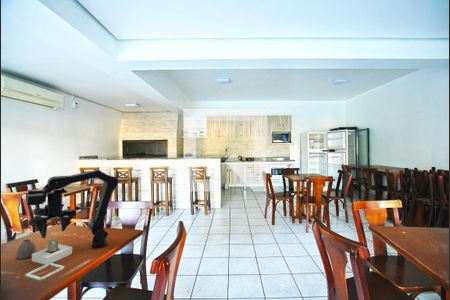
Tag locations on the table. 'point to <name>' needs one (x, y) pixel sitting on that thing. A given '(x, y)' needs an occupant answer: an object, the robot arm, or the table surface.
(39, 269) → the tray
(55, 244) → the plug
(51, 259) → the white block with recess
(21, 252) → the vase
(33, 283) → the table surface
